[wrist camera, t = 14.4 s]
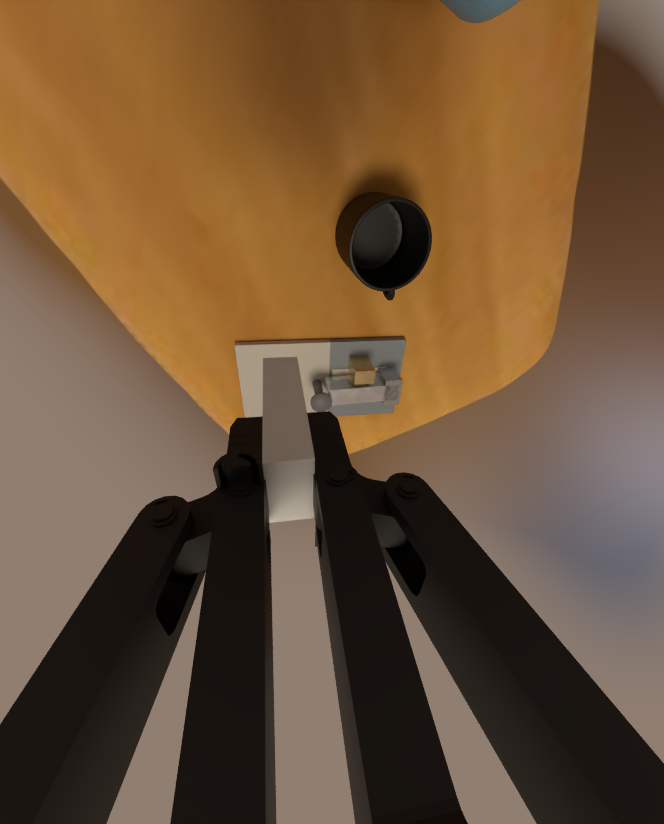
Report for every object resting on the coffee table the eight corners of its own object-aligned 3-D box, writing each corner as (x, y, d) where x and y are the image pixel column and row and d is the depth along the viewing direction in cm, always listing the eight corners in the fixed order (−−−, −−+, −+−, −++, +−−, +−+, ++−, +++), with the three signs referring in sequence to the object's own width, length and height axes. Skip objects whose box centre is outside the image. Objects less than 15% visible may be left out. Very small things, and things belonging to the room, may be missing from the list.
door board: (235, 342, 50) (231, 364, 44) (403, 336, 54) (420, 356, 48) (245, 418, 58) (243, 445, 52) (391, 408, 62) (404, 433, 56)
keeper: (348, 356, 53) (355, 371, 49) (367, 355, 53) (375, 370, 49) (347, 368, 54) (354, 384, 50) (365, 367, 54) (374, 383, 50)
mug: (347, 298, 49) (362, 322, 41) (326, 205, 41) (340, 213, 34) (410, 279, 48) (436, 299, 41) (400, 181, 41) (429, 184, 34)
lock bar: (324, 396, 55) (328, 410, 52) (324, 372, 53) (328, 385, 50) (391, 390, 57) (398, 403, 54) (394, 367, 54) (402, 379, 51)
